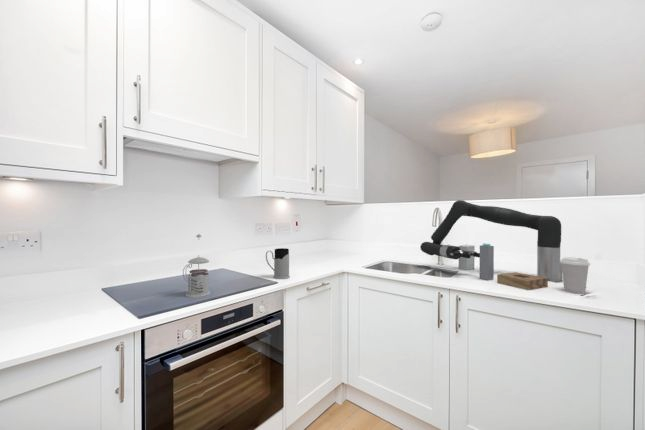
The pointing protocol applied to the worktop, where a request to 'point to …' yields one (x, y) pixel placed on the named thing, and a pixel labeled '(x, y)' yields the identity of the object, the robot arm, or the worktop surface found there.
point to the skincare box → (466, 262)
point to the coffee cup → (575, 274)
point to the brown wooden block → (522, 280)
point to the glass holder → (280, 263)
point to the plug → (486, 262)
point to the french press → (197, 278)
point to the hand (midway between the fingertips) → (475, 256)
